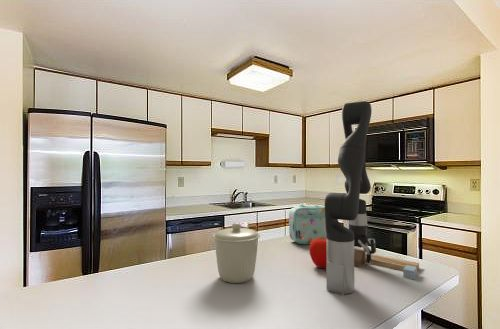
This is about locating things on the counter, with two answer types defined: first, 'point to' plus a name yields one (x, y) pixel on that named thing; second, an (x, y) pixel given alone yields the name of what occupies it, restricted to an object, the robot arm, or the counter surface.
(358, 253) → the walnut block
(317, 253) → the tomato
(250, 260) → the canister
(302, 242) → the lunch box
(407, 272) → the slate stop block
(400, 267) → the oak board
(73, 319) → the counter surface
